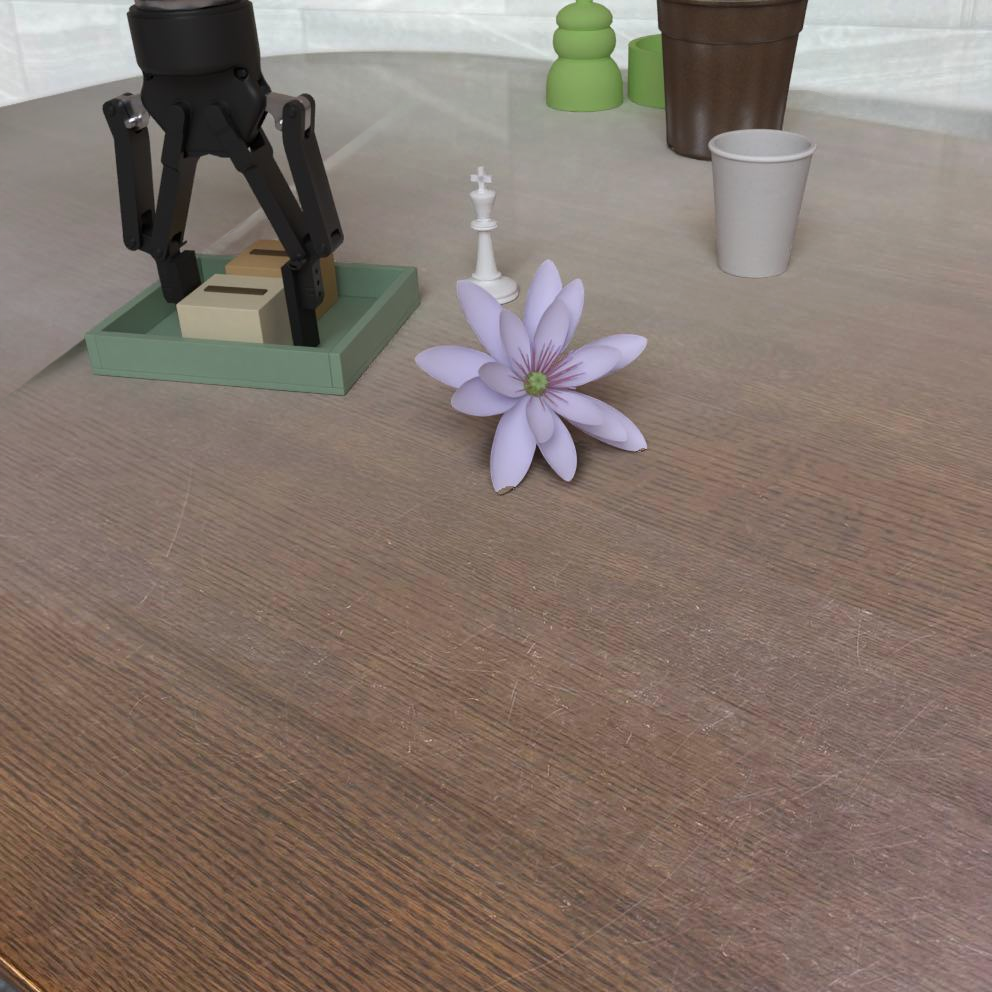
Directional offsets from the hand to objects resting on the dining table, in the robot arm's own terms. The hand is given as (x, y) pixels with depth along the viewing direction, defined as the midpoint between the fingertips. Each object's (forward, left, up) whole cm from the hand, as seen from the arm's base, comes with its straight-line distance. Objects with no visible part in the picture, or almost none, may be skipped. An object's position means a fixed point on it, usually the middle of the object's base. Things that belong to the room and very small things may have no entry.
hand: (253, 347), depth 85 cm
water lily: (+23, -10, -1) cm, 25 cm away
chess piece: (+13, +15, -1) cm, 20 cm away
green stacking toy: (+15, +82, -1) cm, 84 cm away
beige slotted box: (-1, 0, 0) cm, 1 cm away
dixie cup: (+33, +25, -1) cm, 41 cm away
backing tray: (-1, +4, -1) cm, 4 cm away
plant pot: (+27, +61, -1) cm, 67 cm away
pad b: (-1, +8, 0) cm, 8 cm away
